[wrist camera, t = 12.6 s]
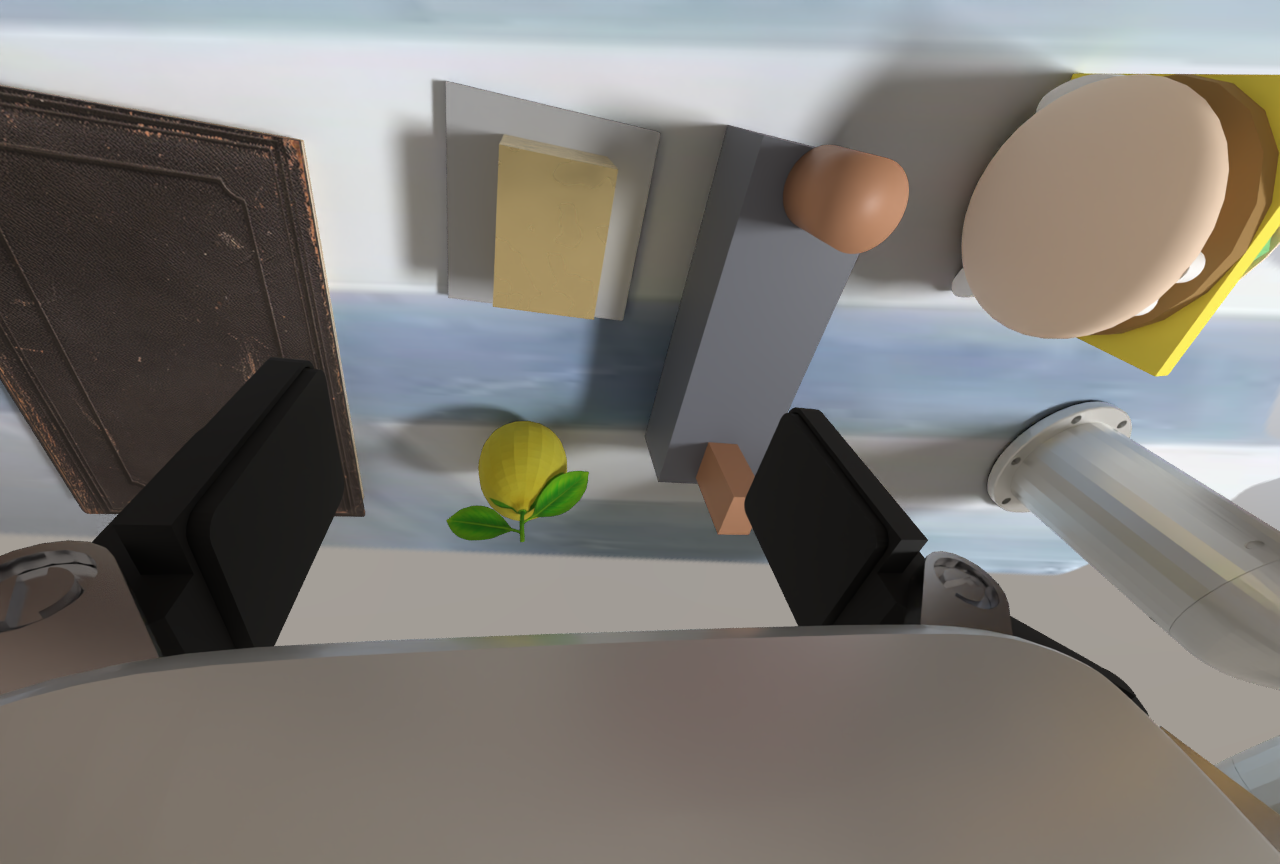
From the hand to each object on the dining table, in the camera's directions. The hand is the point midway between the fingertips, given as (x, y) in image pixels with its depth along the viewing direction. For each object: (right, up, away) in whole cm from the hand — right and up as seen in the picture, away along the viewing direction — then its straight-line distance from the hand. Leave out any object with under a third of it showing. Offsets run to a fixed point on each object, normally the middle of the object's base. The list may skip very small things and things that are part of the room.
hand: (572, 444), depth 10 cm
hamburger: (+24, +15, +20) cm, 34 cm away
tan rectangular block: (-3, +11, +15) cm, 19 cm away
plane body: (+7, +8, +21) cm, 24 cm away
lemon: (-7, 0, +24) cm, 25 cm away
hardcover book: (-24, +6, +17) cm, 30 cm away
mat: (-4, +12, +16) cm, 20 cm away
